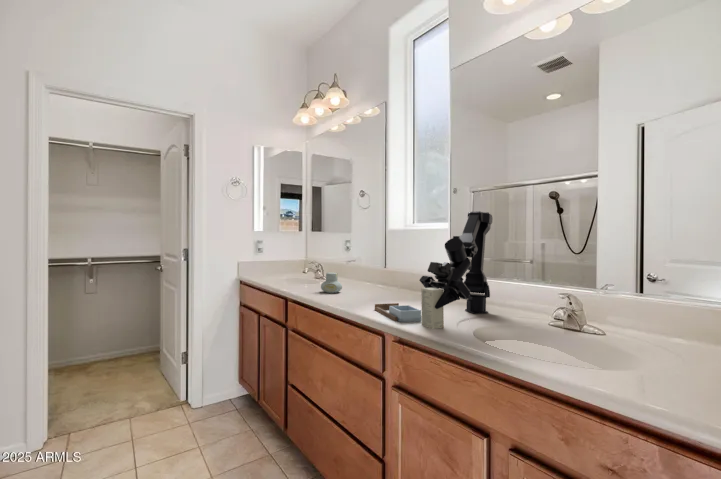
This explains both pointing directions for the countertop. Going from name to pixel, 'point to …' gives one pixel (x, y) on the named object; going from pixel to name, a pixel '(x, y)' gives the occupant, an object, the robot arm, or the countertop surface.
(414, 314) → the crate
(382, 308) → the bay
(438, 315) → the skincare box
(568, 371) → the countertop surface
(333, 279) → the air freshener
